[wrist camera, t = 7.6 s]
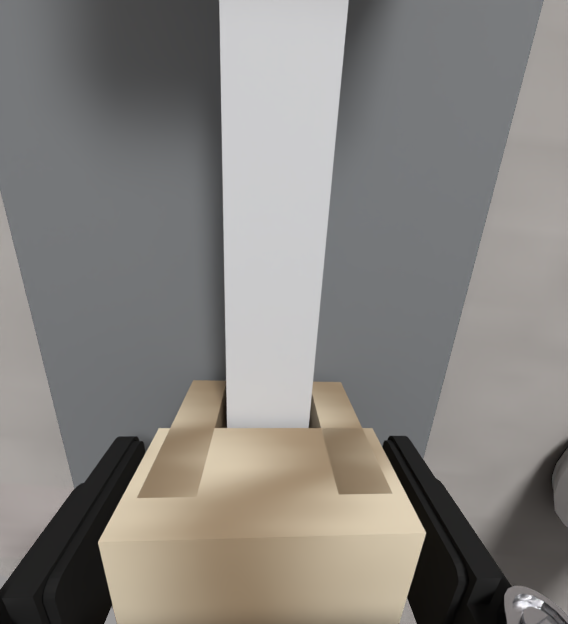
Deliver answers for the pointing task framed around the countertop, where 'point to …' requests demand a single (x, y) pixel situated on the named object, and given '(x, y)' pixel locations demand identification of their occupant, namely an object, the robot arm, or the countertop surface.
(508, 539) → the countertop surface
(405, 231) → the rail base
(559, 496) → the can
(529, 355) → the countertop surface
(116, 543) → the carriage
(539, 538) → the countertop surface
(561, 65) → the countertop surface
